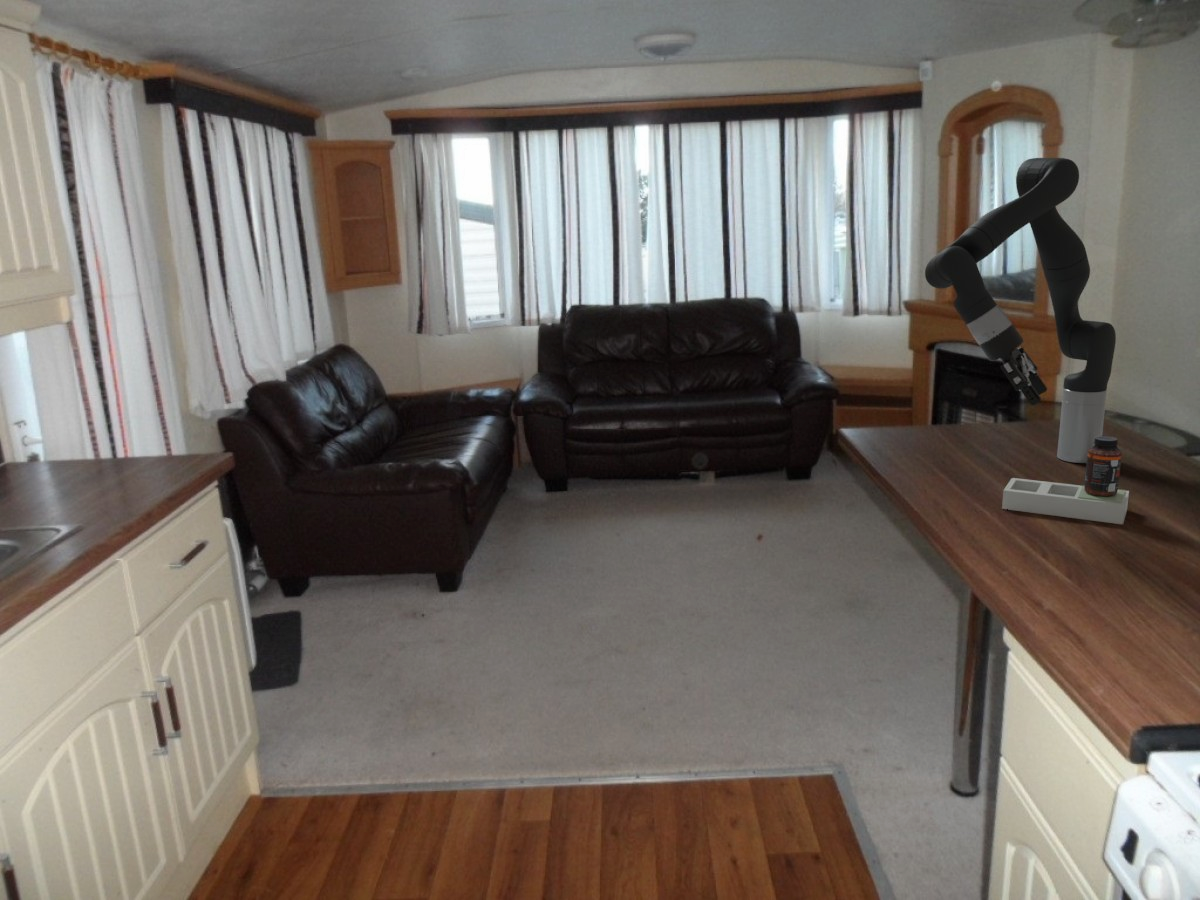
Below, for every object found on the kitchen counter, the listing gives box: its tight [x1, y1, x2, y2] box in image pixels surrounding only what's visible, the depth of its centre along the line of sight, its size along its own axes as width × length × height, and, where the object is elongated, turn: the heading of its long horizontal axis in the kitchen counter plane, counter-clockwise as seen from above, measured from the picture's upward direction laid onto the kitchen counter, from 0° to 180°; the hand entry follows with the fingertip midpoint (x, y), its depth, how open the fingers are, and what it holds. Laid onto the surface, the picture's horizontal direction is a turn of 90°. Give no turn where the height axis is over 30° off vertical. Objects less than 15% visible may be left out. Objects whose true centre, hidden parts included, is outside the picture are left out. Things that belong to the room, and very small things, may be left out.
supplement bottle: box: [1084, 435, 1122, 496], centre depth 187 cm, size 6×6×11 cm
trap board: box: [1001, 477, 1130, 525], centre depth 192 cm, size 10×22×4 cm, turn 58°
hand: (1040, 397), depth 193 cm, fingers open, 8 cm apart
